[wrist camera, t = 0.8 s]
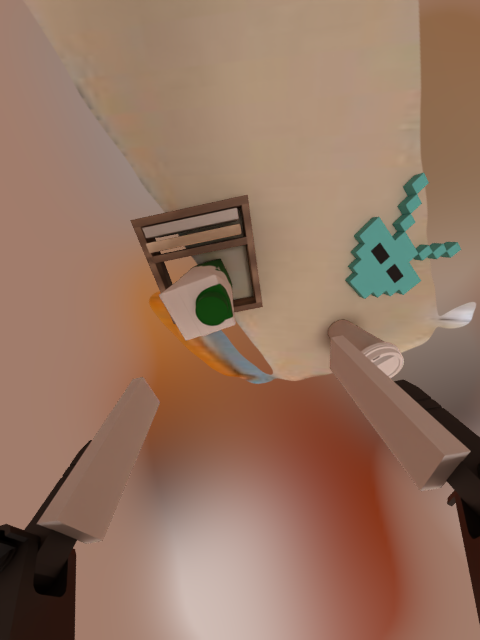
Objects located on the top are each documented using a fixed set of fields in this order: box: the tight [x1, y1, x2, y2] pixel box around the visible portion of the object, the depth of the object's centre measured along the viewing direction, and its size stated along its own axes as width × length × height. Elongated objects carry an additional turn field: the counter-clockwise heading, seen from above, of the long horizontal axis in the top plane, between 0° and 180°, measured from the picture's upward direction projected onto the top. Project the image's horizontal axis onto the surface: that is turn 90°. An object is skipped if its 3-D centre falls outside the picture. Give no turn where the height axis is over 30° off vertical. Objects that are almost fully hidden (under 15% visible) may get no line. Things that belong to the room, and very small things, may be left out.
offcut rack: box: [131, 195, 263, 324], centre depth 35 cm, size 21×20×4 cm
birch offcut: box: [146, 224, 241, 253], centre depth 31 cm, size 2×16×8 cm, turn 101°
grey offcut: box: [142, 208, 239, 238], centre depth 31 cm, size 2×16×6 cm, turn 100°
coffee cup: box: [328, 320, 404, 378], centre depth 40 cm, size 10×10×15 cm
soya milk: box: [159, 259, 235, 340], centre depth 30 cm, size 9×9×20 cm
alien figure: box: [346, 173, 461, 299], centre depth 38 cm, size 20×2×20 cm
